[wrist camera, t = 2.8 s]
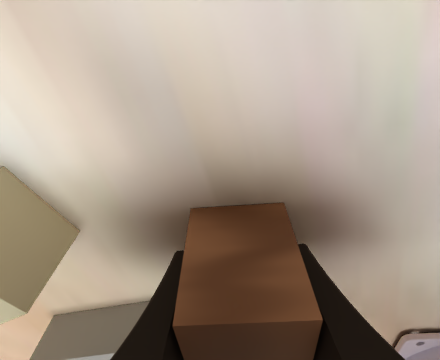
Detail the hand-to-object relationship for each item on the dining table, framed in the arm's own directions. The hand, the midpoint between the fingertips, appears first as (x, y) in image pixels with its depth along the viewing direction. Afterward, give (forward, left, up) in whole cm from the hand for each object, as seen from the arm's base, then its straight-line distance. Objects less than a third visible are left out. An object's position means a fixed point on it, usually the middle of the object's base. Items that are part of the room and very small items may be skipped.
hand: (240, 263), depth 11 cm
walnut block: (0, 0, -1) cm, 1 cm away
